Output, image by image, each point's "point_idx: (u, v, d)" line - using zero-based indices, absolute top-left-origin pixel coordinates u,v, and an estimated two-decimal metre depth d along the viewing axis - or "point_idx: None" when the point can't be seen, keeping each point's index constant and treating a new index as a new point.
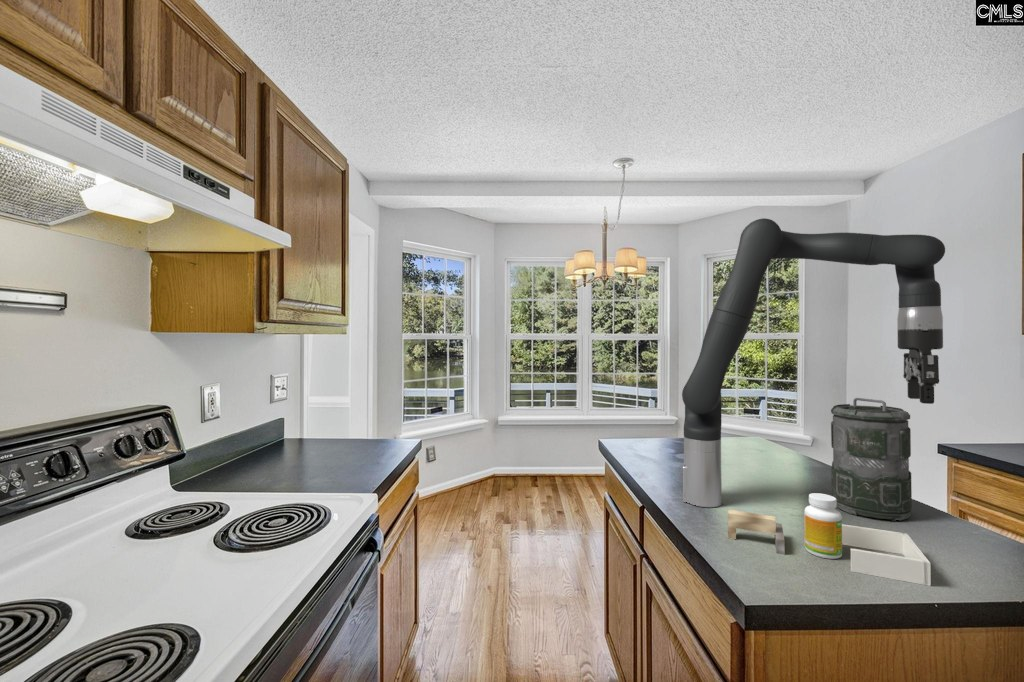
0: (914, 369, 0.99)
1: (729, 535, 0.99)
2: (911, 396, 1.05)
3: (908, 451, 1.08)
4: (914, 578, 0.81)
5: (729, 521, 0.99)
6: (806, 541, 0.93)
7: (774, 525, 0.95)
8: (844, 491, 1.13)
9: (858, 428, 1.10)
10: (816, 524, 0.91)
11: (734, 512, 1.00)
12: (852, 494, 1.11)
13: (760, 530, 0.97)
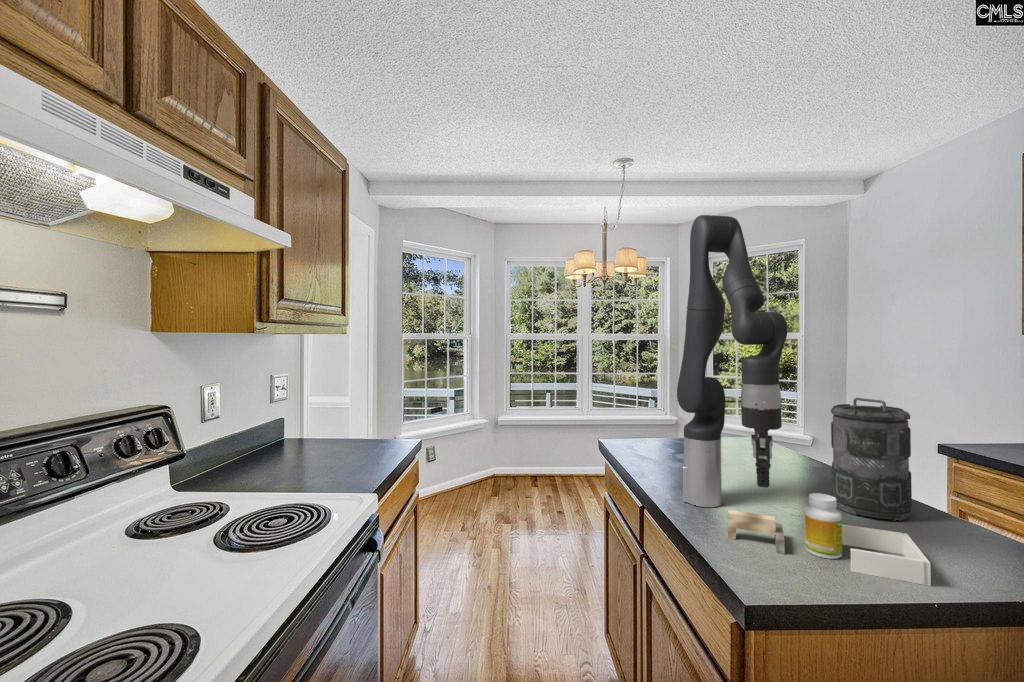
0: (753, 449, 0.96)
1: (729, 535, 0.99)
2: None
3: (908, 451, 1.08)
4: (914, 578, 0.81)
5: (729, 521, 0.99)
6: (806, 541, 0.93)
7: (774, 525, 0.95)
8: (844, 491, 1.13)
9: (858, 428, 1.10)
10: (816, 524, 0.91)
11: (734, 512, 1.00)
12: (852, 494, 1.11)
13: (760, 530, 0.97)
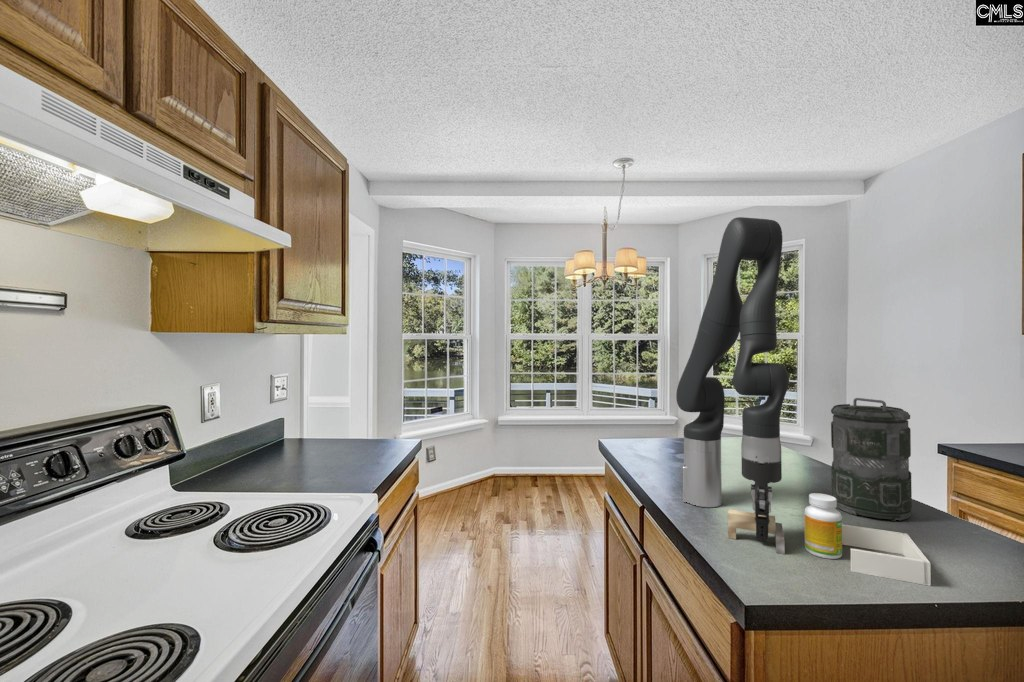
0: None
1: (729, 535, 0.99)
2: None
3: (908, 451, 1.08)
4: (914, 578, 0.81)
5: (729, 521, 0.99)
6: (806, 541, 0.93)
7: (774, 524, 0.95)
8: (844, 491, 1.13)
9: (858, 428, 1.10)
10: (816, 524, 0.91)
11: (734, 512, 1.00)
12: (852, 494, 1.11)
13: None
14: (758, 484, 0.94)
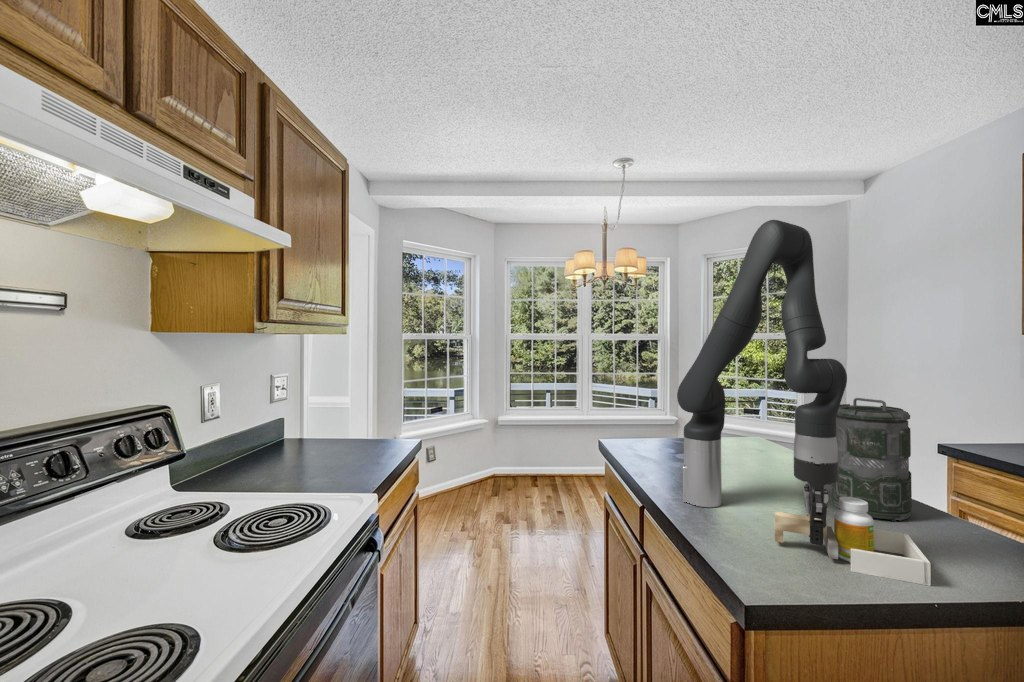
0: (806, 505, 0.92)
1: (776, 538, 0.95)
2: None
3: (908, 451, 1.08)
4: (914, 578, 0.81)
5: (776, 523, 0.95)
6: None
7: (825, 528, 0.91)
8: (844, 491, 1.13)
9: (858, 428, 1.10)
10: (847, 529, 0.88)
11: (781, 514, 0.96)
12: (852, 494, 1.11)
13: None
14: (814, 486, 0.90)
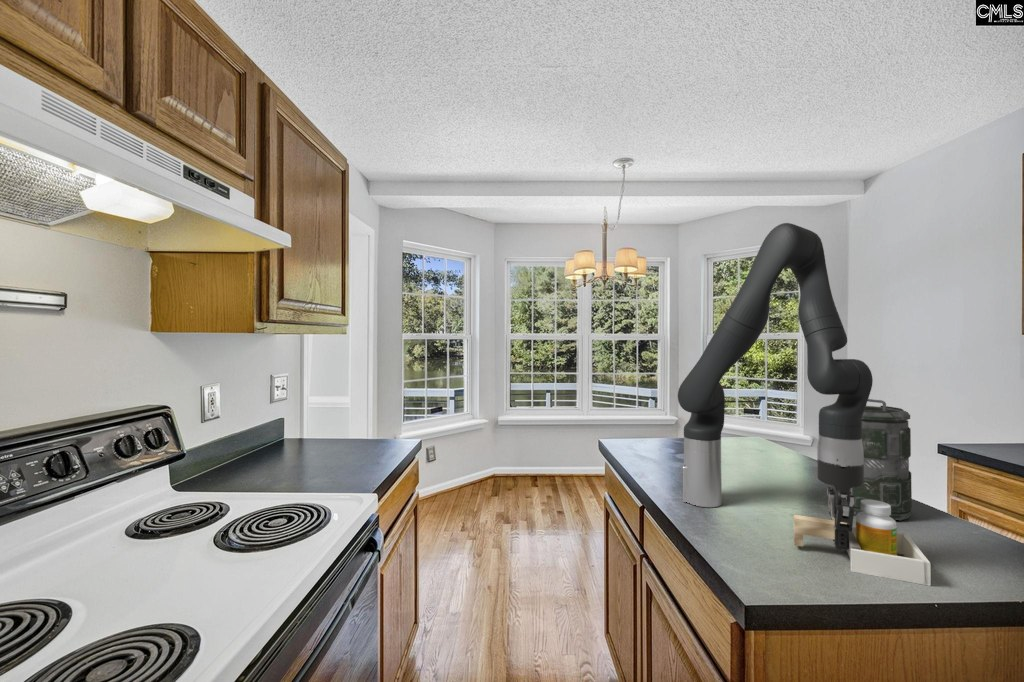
0: (831, 508, 0.90)
1: (796, 542, 0.94)
2: None
3: (908, 451, 1.08)
4: (914, 578, 0.81)
5: (796, 527, 0.94)
6: None
7: None
8: None
9: None
10: (869, 532, 0.87)
11: (801, 517, 0.94)
12: (852, 494, 1.11)
13: (831, 537, 0.91)
14: (839, 489, 0.88)
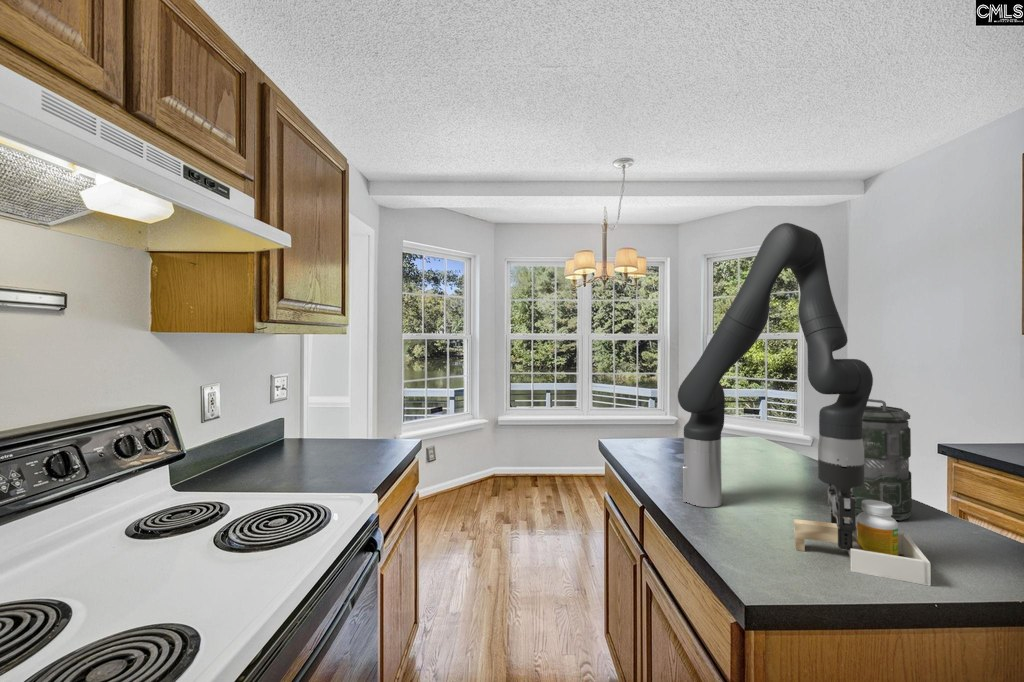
0: (833, 507, 0.89)
1: (797, 546, 0.94)
2: None
3: (908, 451, 1.08)
4: (914, 578, 0.81)
5: (796, 531, 0.94)
6: None
7: None
8: None
9: None
10: (871, 532, 0.87)
11: (801, 522, 0.94)
12: (852, 494, 1.11)
13: (831, 540, 0.91)
14: (840, 489, 0.88)
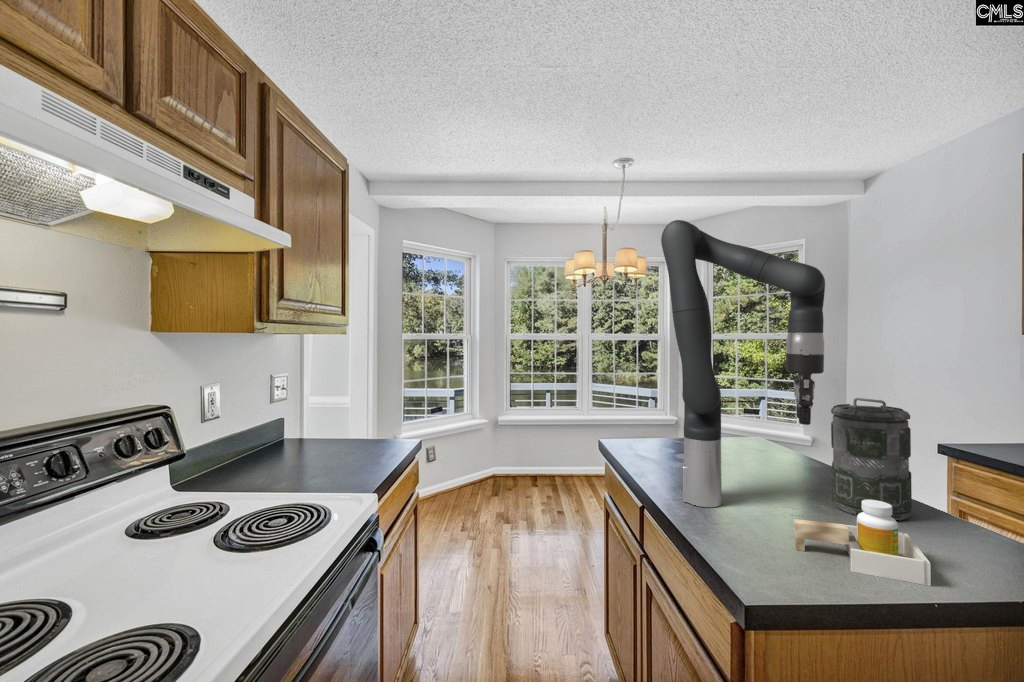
0: (796, 391, 1.05)
1: (797, 546, 0.93)
2: (799, 416, 1.11)
3: (908, 451, 1.08)
4: (914, 578, 0.81)
5: (796, 531, 0.94)
6: None
7: (847, 534, 0.90)
8: (844, 491, 1.13)
9: (858, 428, 1.10)
10: (871, 532, 0.87)
11: (801, 522, 0.94)
12: (852, 494, 1.11)
13: (831, 540, 0.91)
14: (802, 374, 1.04)
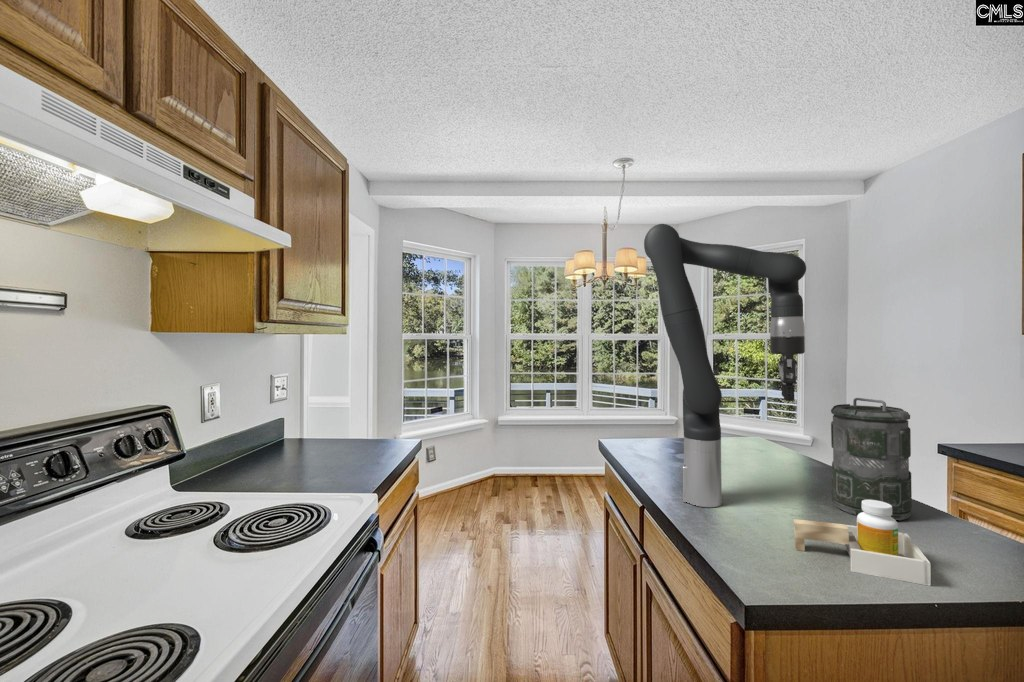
0: (780, 371, 1.14)
1: (797, 546, 0.93)
2: (784, 394, 1.20)
3: (908, 451, 1.08)
4: (914, 578, 0.81)
5: (796, 531, 0.94)
6: None
7: (847, 534, 0.90)
8: (844, 491, 1.13)
9: (858, 428, 1.10)
10: (871, 532, 0.87)
11: (801, 522, 0.94)
12: (852, 494, 1.11)
13: (831, 540, 0.91)
14: (785, 355, 1.13)
